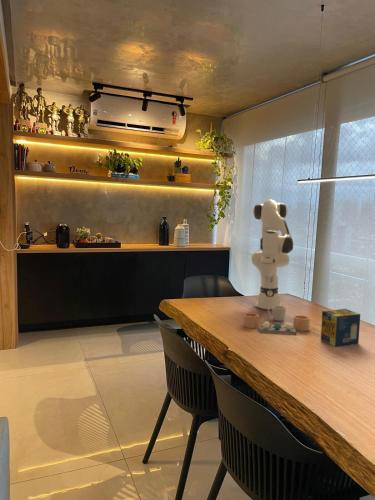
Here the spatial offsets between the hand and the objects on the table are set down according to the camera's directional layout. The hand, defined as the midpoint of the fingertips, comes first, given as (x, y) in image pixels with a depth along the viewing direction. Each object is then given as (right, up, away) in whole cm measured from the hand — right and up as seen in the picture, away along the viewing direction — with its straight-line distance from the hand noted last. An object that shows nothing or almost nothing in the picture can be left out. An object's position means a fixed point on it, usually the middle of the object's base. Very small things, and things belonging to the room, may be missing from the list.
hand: (269, 283), depth 208 cm
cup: (+8, -24, +19) cm, 32 cm away
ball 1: (-2, -23, -3) cm, 23 cm away
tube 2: (+18, -26, +2) cm, 31 cm away
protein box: (+31, -28, -19) cm, 46 cm away
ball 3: (+10, -23, -4) cm, 25 cm away
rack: (+4, -26, -3) cm, 26 cm away
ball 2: (+4, -23, -4) cm, 23 cm away
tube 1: (-9, -25, +5) cm, 27 cm away
